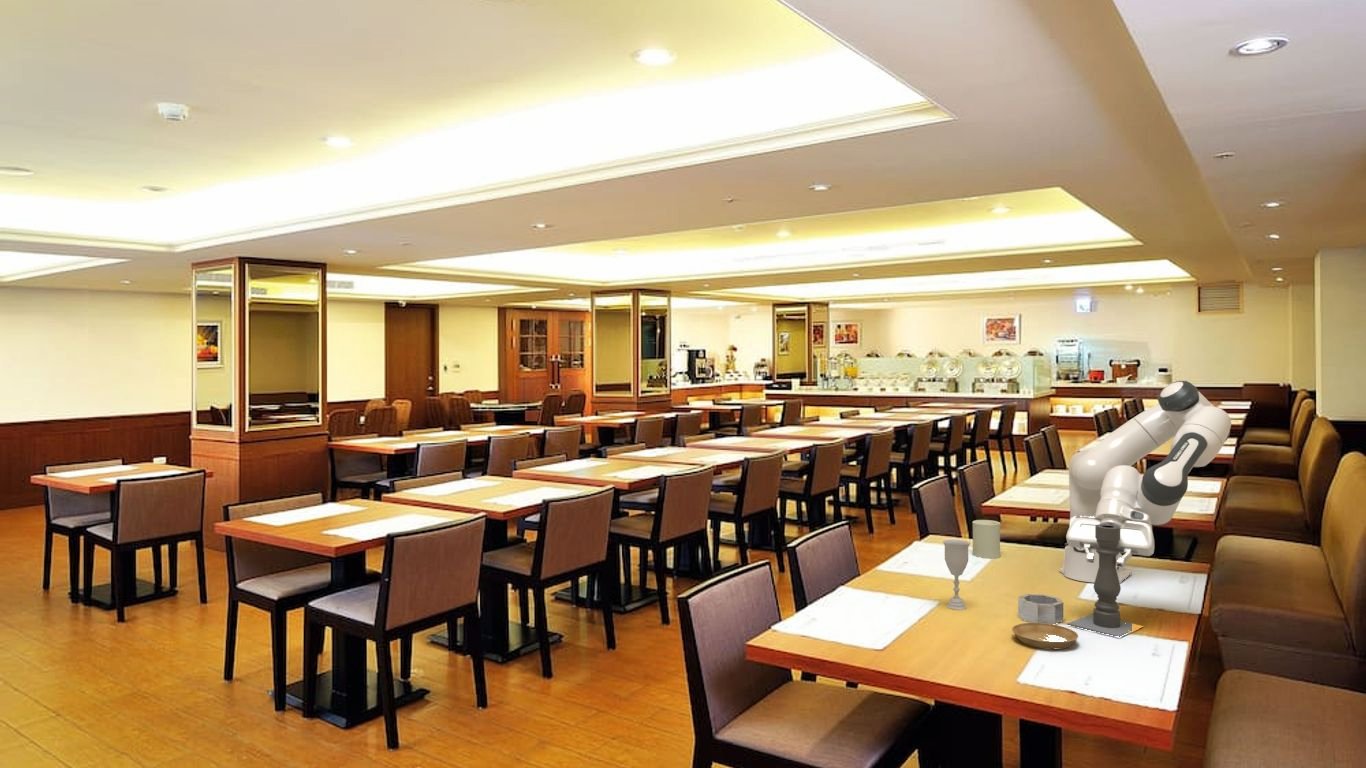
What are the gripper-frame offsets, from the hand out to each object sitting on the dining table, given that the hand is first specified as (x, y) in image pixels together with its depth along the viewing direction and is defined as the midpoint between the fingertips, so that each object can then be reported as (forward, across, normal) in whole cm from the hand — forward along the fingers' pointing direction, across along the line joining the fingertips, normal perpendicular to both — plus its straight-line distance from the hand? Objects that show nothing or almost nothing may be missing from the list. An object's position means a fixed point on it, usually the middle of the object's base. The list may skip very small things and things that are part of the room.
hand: (1104, 563), depth 213 cm
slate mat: (+11, 0, +12) cm, 16 cm away
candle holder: (+11, 0, +12) cm, 16 cm away
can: (-31, -50, +54) cm, 80 cm away
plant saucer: (+26, -9, -2) cm, 27 cm away
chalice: (+15, -36, +8) cm, 40 cm away
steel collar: (+13, -15, +10) cm, 22 cm away
